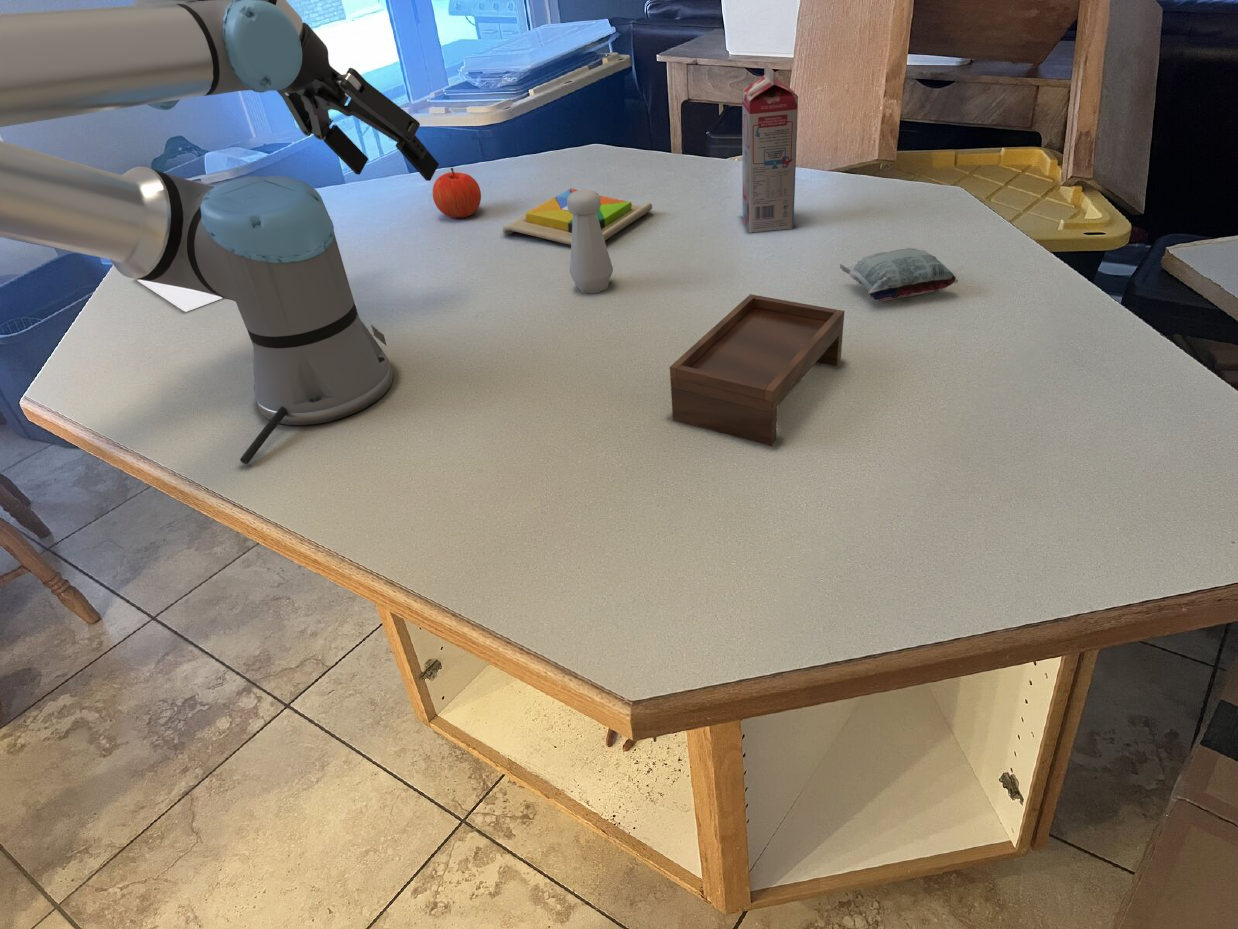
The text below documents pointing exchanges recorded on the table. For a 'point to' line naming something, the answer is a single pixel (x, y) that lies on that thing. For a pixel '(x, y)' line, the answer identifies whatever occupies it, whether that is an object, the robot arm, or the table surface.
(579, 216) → the salt shaker
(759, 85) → the juice carton
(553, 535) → the table surface
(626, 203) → the wooden puzzle
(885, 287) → the packaged food
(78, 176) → the robot arm
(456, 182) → the apple
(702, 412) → the spice rack
